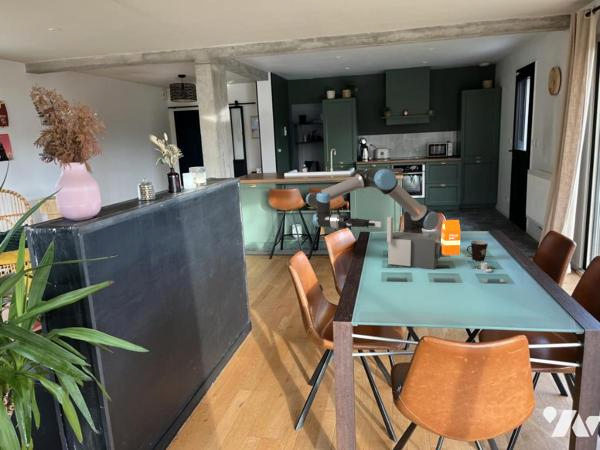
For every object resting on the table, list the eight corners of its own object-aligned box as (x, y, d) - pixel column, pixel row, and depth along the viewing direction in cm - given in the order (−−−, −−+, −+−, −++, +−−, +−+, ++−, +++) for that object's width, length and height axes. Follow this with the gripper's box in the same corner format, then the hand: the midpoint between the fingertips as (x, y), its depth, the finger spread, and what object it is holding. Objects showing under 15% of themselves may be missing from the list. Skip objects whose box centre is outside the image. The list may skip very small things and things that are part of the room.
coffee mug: (484, 257, 256) (485, 240, 254) (488, 262, 248) (489, 244, 245) (462, 257, 257) (463, 240, 255) (466, 262, 249) (467, 244, 247)
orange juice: (459, 254, 263) (461, 221, 259) (444, 255, 263) (445, 221, 259) (455, 251, 270) (456, 218, 266) (440, 251, 271) (441, 218, 267)
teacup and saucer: (494, 273, 229) (494, 266, 228) (477, 273, 231) (477, 265, 230) (490, 268, 238) (491, 261, 237) (474, 268, 239) (475, 260, 238)
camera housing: (394, 259, 258) (394, 229, 255) (442, 263, 247) (443, 233, 243) (388, 264, 248) (389, 234, 244) (438, 270, 236) (439, 238, 233)
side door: (388, 263, 247) (389, 216, 242) (410, 265, 242) (411, 217, 237) (386, 265, 244) (387, 217, 238) (409, 267, 239) (410, 219, 233)
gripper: (343, 225, 259) (384, 228, 249) (335, 230, 248) (377, 233, 237) (343, 212, 258) (384, 215, 247) (335, 217, 246) (377, 219, 236)
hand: (380, 224), depth 242 cm, fingers closed
